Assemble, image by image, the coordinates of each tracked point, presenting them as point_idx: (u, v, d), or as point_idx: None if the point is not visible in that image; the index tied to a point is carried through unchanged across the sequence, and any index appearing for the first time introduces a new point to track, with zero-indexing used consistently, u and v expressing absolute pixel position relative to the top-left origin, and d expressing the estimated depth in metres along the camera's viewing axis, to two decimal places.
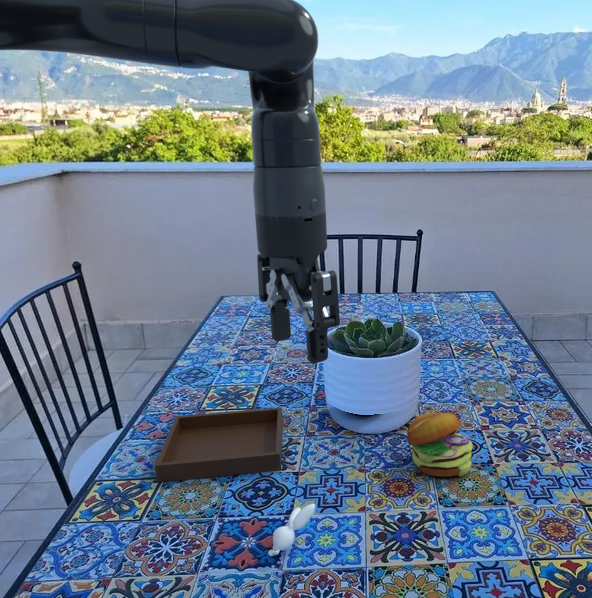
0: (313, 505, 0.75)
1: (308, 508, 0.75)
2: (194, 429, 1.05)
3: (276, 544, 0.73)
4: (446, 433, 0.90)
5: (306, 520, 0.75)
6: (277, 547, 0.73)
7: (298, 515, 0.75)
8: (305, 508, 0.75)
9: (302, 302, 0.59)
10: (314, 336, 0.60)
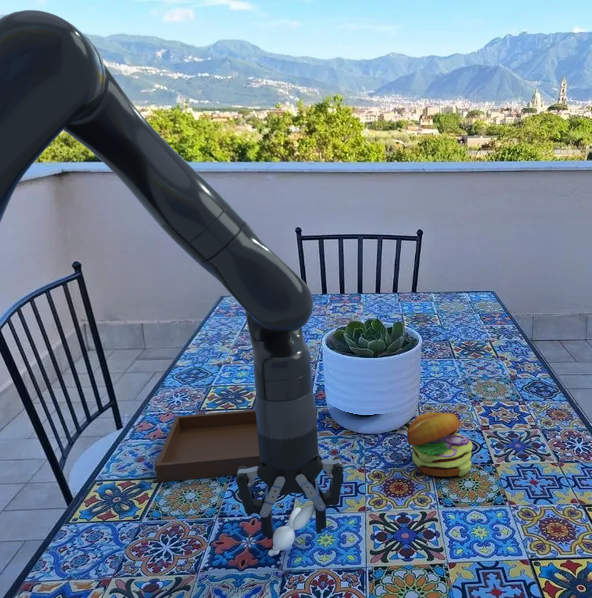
0: (313, 505, 0.75)
1: (308, 508, 0.75)
2: (194, 429, 1.05)
3: (276, 544, 0.73)
4: (446, 433, 0.90)
5: (306, 520, 0.75)
6: (277, 547, 0.73)
7: (298, 515, 0.75)
8: (305, 508, 0.75)
9: (316, 491, 0.74)
10: (323, 512, 0.75)
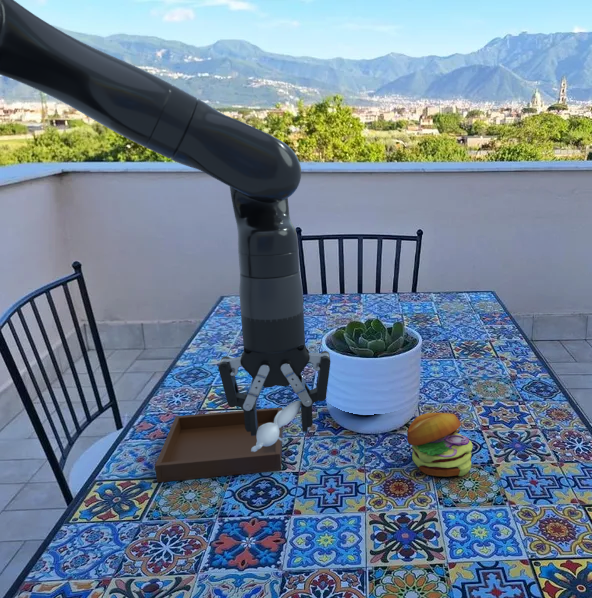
0: (299, 402, 0.72)
1: (294, 404, 0.72)
2: (194, 429, 1.05)
3: (259, 438, 0.70)
4: (446, 433, 0.90)
5: (291, 416, 0.72)
6: (260, 441, 0.70)
7: (283, 411, 0.72)
8: (291, 404, 0.72)
9: (302, 384, 0.71)
10: (309, 408, 0.72)
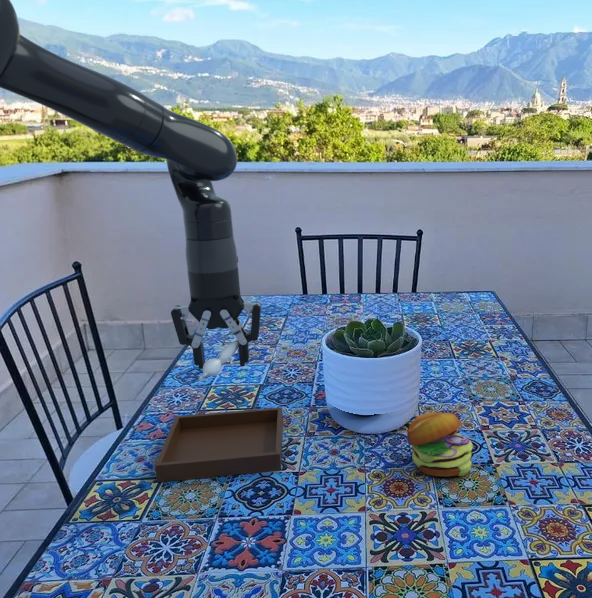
0: (237, 342, 0.91)
1: (233, 343, 0.91)
2: (194, 429, 1.05)
3: (204, 369, 0.89)
4: (446, 433, 0.90)
5: (231, 353, 0.90)
6: (205, 371, 0.89)
7: (224, 348, 0.90)
8: (230, 343, 0.91)
9: (238, 326, 0.89)
10: (245, 347, 0.91)
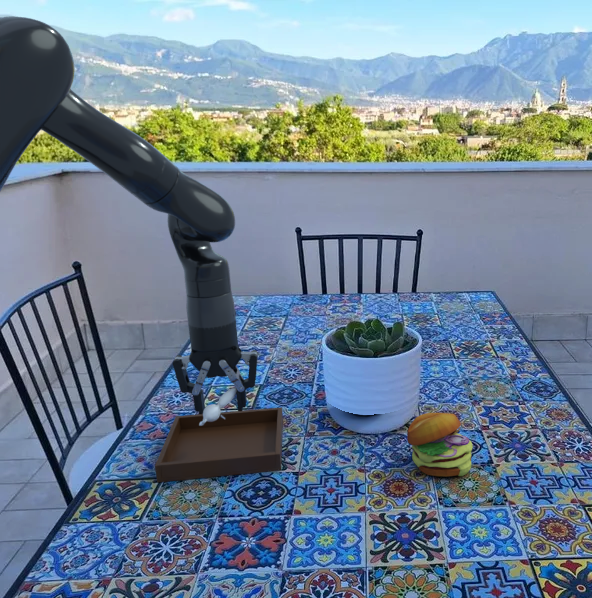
0: (235, 388, 0.96)
1: (231, 390, 0.96)
2: (194, 429, 1.05)
3: (204, 415, 0.94)
4: (446, 433, 0.90)
5: (229, 399, 0.96)
6: (205, 418, 0.94)
7: (223, 395, 0.96)
8: (229, 390, 0.96)
9: (236, 375, 0.95)
10: (243, 393, 0.96)
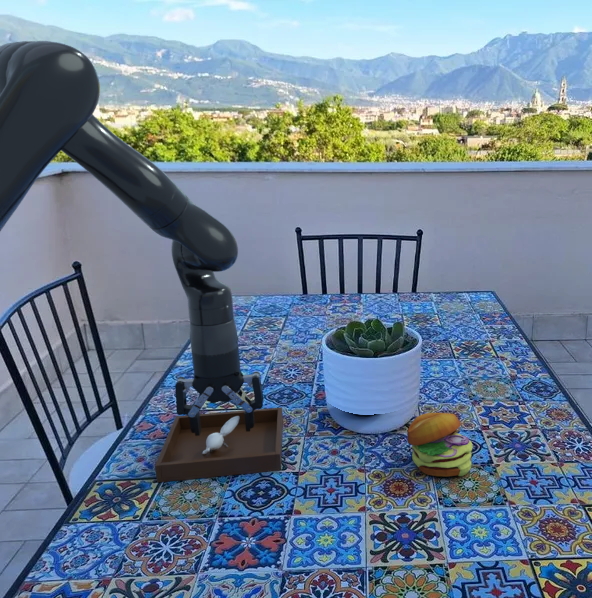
0: (238, 417, 0.98)
1: (234, 419, 0.98)
2: None
3: (208, 444, 0.96)
4: (446, 433, 0.90)
5: (232, 427, 0.97)
6: (208, 446, 0.96)
7: (226, 424, 0.97)
8: (231, 419, 0.98)
9: (241, 397, 0.96)
10: (251, 414, 0.98)
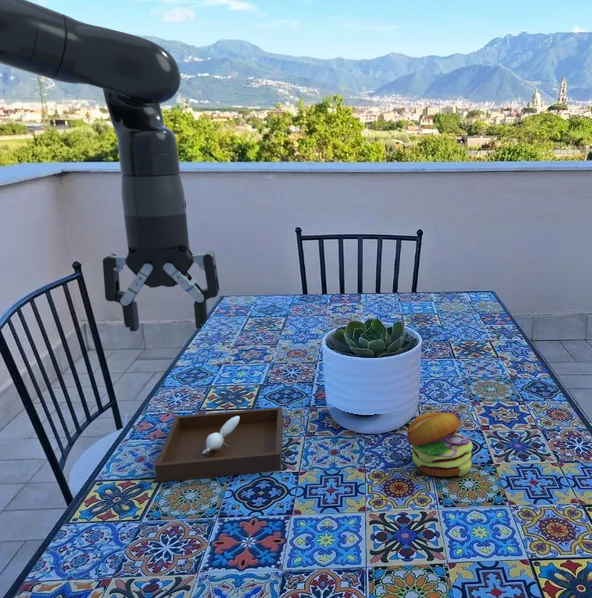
0: (238, 417, 0.98)
1: (234, 419, 0.98)
2: (194, 429, 1.05)
3: (208, 444, 0.96)
4: (446, 433, 0.90)
5: (232, 427, 0.97)
6: (208, 446, 0.96)
7: (226, 424, 0.97)
8: (231, 419, 0.98)
9: (189, 281, 0.75)
10: (202, 305, 0.77)
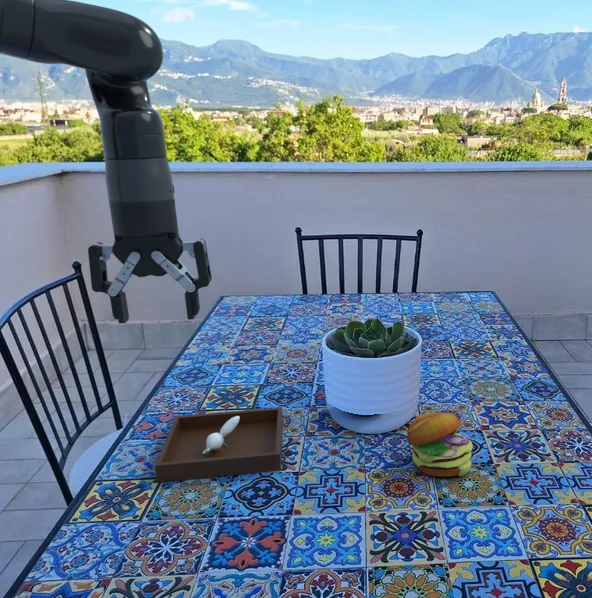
0: (238, 417, 0.98)
1: (234, 419, 0.98)
2: (194, 429, 1.05)
3: (208, 444, 0.96)
4: (446, 433, 0.90)
5: (232, 427, 0.97)
6: (208, 446, 0.96)
7: (226, 424, 0.97)
8: (231, 419, 0.98)
9: (179, 270, 0.72)
10: (193, 295, 0.73)
